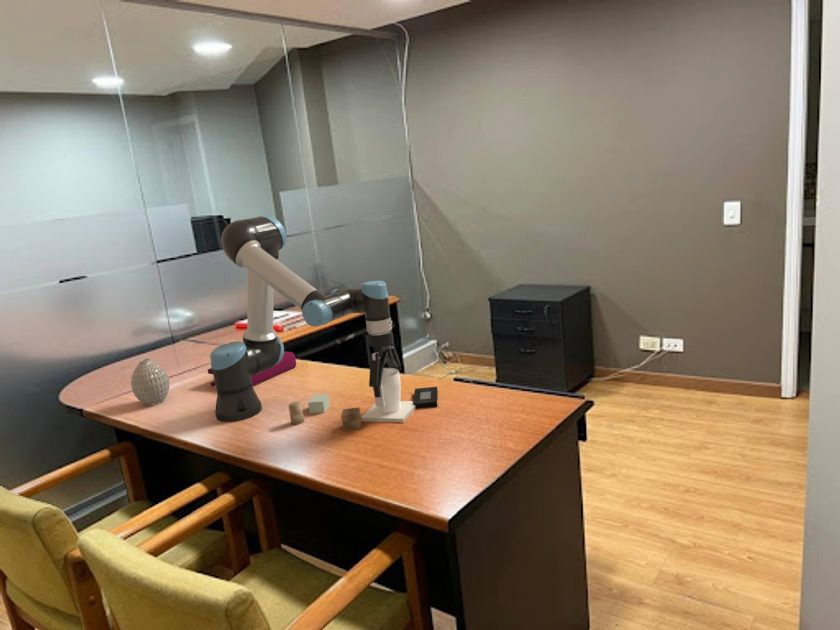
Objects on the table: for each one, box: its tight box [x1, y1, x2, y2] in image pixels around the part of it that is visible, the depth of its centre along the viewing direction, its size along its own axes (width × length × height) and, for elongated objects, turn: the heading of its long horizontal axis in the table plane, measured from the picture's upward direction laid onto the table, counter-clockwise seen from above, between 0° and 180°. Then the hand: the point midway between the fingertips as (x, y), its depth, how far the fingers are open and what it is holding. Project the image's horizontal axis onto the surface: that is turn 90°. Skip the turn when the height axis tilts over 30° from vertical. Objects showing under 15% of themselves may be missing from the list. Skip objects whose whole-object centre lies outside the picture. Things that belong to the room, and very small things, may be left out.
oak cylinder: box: [287, 401, 305, 426], centre depth 194 cm, size 4×4×6 cm
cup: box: [371, 367, 402, 413], centre depth 192 cm, size 9×9×12 cm
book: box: [207, 351, 297, 387], centre depth 249 cm, size 21×28×8 cm
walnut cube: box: [340, 407, 363, 432], centre depth 186 cm, size 5×5×5 cm
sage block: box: [307, 393, 331, 415], centre depth 204 cm, size 5×7×4 cm
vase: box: [130, 357, 170, 406], centre depth 229 cm, size 13×13×17 cm
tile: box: [361, 400, 417, 423], centre depth 194 cm, size 14×14×1 cm
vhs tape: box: [413, 386, 439, 410], centre depth 202 cm, size 8×14×2 cm, turn 178°
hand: (388, 398), depth 193 cm, fingers open, 13 cm apart
